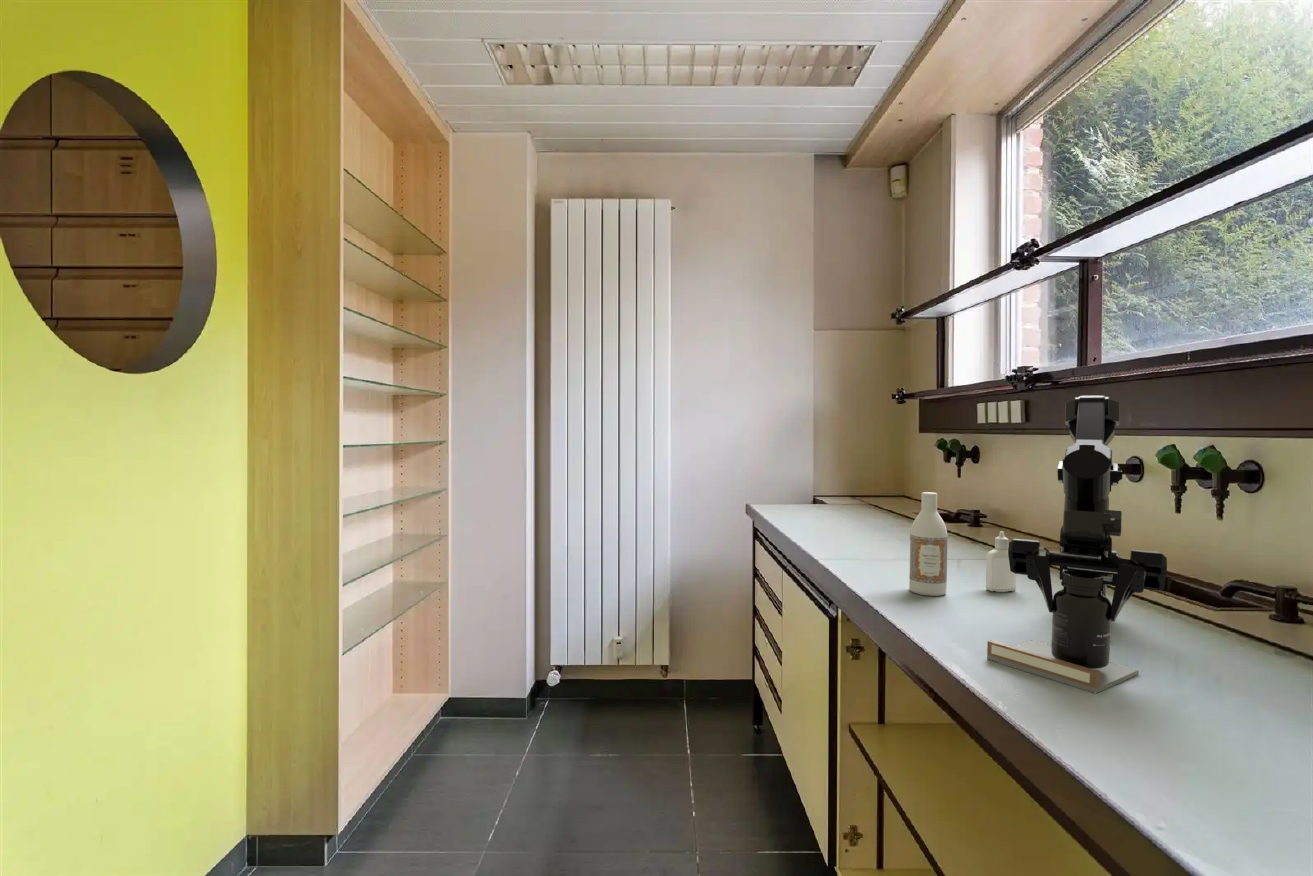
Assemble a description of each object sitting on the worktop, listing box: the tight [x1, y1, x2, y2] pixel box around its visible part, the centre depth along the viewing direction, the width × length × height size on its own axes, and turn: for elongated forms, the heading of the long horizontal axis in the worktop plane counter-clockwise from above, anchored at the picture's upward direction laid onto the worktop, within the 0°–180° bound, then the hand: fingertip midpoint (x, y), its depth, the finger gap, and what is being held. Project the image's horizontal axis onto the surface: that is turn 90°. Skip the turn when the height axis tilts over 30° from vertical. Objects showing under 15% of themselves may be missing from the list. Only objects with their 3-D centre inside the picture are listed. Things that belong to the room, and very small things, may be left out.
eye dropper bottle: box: [985, 530, 1017, 593], centre depth 137 cm, size 4×6×12 cm
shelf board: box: [986, 639, 1140, 694], centre depth 95 cm, size 12×14×3 cm
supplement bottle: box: [1050, 570, 1112, 669], centre depth 93 cm, size 7×7×12 cm
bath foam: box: [908, 491, 948, 597], centre depth 135 cm, size 7×7×20 cm
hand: (1080, 615), depth 91 cm, fingers closed on supplement bottle, 7 cm apart
